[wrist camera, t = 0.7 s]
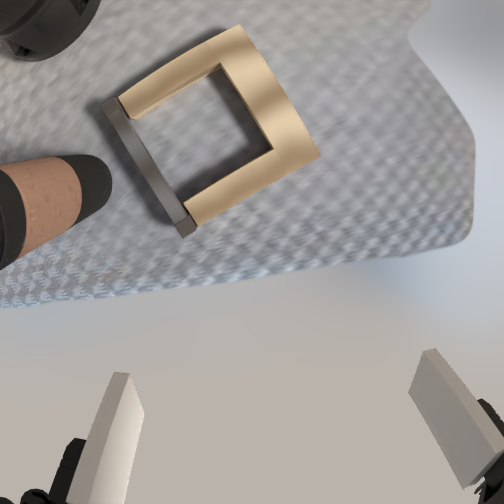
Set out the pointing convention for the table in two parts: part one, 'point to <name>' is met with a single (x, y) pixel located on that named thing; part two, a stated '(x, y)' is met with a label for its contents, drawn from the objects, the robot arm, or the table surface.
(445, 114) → the table surface
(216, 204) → the wooden arch frame
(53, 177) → the travel mug
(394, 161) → the table surface
